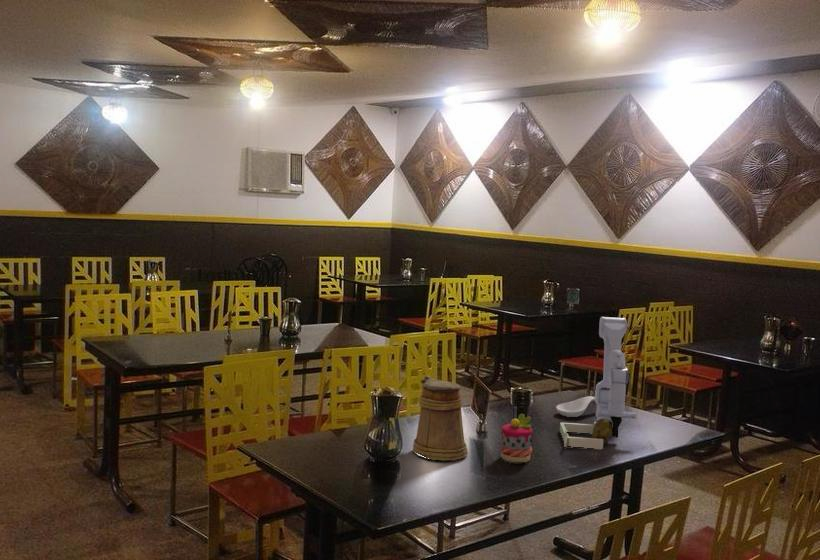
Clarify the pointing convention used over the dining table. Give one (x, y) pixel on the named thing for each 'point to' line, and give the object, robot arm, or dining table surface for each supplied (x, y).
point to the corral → (577, 440)
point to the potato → (602, 429)
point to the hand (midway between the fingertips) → (614, 436)
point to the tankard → (440, 421)
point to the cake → (517, 440)
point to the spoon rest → (574, 407)
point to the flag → (565, 438)
